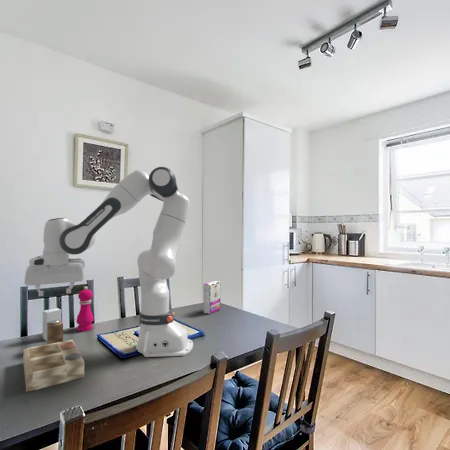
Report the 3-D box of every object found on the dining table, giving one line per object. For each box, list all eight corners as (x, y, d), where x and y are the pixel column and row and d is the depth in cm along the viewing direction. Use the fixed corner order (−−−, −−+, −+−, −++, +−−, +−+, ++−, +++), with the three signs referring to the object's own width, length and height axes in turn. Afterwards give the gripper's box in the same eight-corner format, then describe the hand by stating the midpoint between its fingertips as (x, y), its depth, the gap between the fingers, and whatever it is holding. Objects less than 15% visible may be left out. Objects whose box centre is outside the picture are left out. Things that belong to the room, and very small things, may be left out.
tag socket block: (72, 352, 114) (72, 338, 114) (84, 377, 96) (84, 360, 96) (23, 363, 105) (23, 348, 105) (26, 392, 87) (26, 374, 87)
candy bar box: (213, 308, 177) (213, 280, 177) (220, 309, 174) (221, 281, 174) (202, 313, 167) (203, 283, 167) (210, 314, 165) (210, 284, 165)
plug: (60, 345, 121) (61, 318, 121) (62, 349, 116) (63, 321, 116) (46, 348, 118) (47, 320, 118) (47, 352, 114) (48, 323, 114)
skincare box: (57, 334, 131) (57, 307, 131) (61, 337, 129) (62, 309, 129) (41, 338, 127) (42, 310, 127) (45, 341, 124) (46, 312, 124)
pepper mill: (86, 332, 135) (87, 288, 135) (72, 331, 136) (73, 287, 136) (96, 327, 142) (97, 285, 142) (83, 325, 143) (83, 284, 143)
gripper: (83, 257, 126) (82, 290, 126) (24, 259, 114) (23, 295, 114) (86, 258, 121) (85, 293, 120) (25, 261, 109) (24, 299, 109)
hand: (55, 294), depth 117 cm, fingers open, 8 cm apart
